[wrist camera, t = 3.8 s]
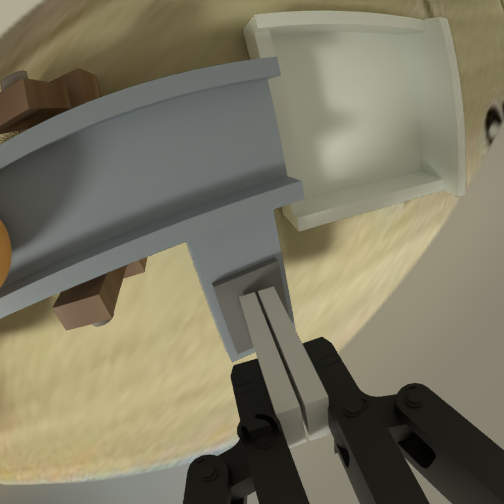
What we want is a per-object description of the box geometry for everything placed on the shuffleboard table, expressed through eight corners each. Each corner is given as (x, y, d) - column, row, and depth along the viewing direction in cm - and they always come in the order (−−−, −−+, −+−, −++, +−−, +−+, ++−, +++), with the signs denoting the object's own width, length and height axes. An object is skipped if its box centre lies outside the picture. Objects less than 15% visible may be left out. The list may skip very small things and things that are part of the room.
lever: (21, 421, 13) (18, 456, 11) (-103, 230, 7) (-132, 252, 4) (302, 316, 18) (330, 344, 16) (254, 66, 12) (287, 52, 9)
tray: (282, 214, 19) (309, 242, 15) (242, 29, 14) (261, 4, 10) (423, 177, 20) (465, 194, 16) (403, 27, 15) (447, 18, 11)
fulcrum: (15, 296, 17) (-27, 365, 11) (-43, 152, 12) (-115, 181, 5) (150, 251, 18) (137, 328, 12) (94, 72, 13) (38, 48, 6)
